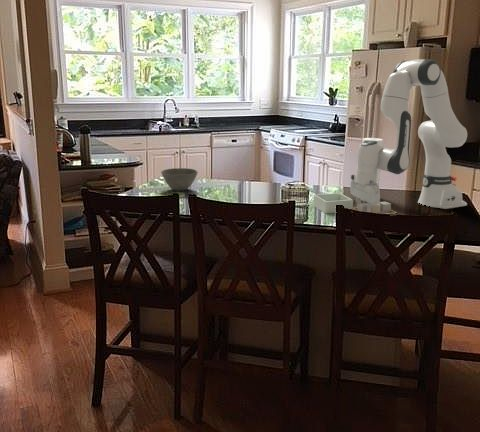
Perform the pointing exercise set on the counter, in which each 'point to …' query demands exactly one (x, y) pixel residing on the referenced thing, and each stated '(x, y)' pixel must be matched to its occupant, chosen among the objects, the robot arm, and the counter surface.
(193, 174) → the bowl
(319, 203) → the tub
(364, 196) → the robot arm
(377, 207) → the stone
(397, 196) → the counter surface
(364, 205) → the stone
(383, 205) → the stone
